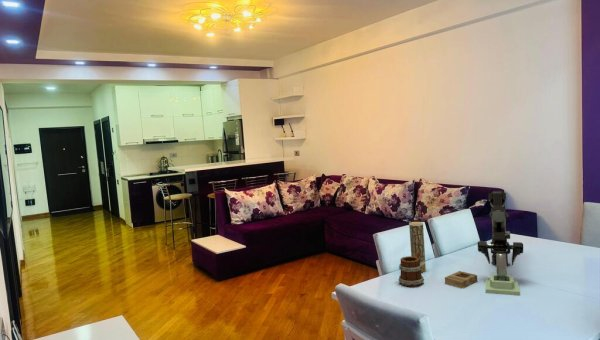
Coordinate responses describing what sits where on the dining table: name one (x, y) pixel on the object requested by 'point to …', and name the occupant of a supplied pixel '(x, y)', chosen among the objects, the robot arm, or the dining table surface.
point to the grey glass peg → (501, 266)
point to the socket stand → (502, 286)
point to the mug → (411, 271)
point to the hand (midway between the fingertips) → (500, 264)
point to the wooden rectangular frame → (461, 279)
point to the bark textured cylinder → (417, 242)
